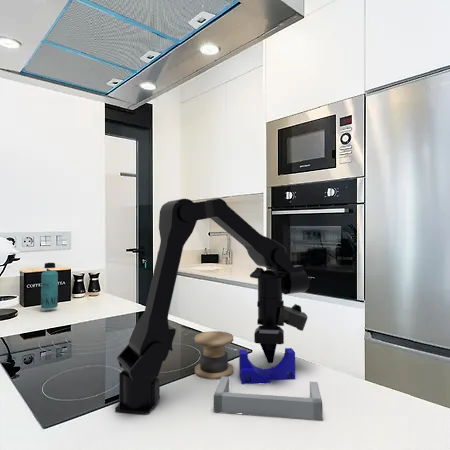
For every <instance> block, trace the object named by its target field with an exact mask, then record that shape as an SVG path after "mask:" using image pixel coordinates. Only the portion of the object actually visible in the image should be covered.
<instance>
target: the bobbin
mask: <svg viewBox="0 0 450 450" xmlns="http://www.w3.org/2000/svg"><path fill="white" fill-rule="evenodd" d="M233 341H234V335H233V334H232V333H229V332H227V331H219V330H216V331H215V330H213V331H212V330H211V331H210V330H209V331H202V332H200V333H197V334H196V335H195V336H194V343H196V344H197V345H199V346H200V345H201V346H203V347H202V350H203V351H201V352H200V357H199V360H200V363H197V364H196V365H195V366H194V373H195V376H198V377H199V378H201V379H207V380H220V379H221V377H222V376H225V377H230V376H232V375H233V374H234V365H233V364H232V363H229V356H228V355H229V353H228V352H227V350H226V347H225V346H226V345H230V344H232V342H233Z"/></svg>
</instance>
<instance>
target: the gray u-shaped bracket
mask: <svg viewBox="0 0 450 450" xmlns="http://www.w3.org/2000/svg"><path fill="white" fill-rule="evenodd" d="M322 399H323V398H322V395H321V391H320V387H319V383H318V381H309V397H301V396H300V397H299V396H288V395H287V396H286V395H285V396H284V395H273V394H272V395H271V394H257V393H254V394H253V393H241V392H230V376H228V377H225V376H222V377H221V379H219V382H218V384H217V386H216V388H215V391H214V394H213V413H218V412H223V413H222V414H232V413H242V414H241V415H245V414H251V415H250V416H258V415H260V416H259V417H270V418H271V417H274V418H287V419H296V420H297V419H298V420H312V421H323V415H324V414H323V400H322ZM224 412H226V413H224Z"/></svg>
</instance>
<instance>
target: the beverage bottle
mask: <svg viewBox="0 0 450 450" xmlns="http://www.w3.org/2000/svg"><path fill="white" fill-rule="evenodd" d="M55 268H56V263H55V262H45V263H44V269H55ZM40 274H41V282H40V288H41V289H40V296H41V297H40V307H41V309H42V310H43V309H44V310H48V309H56V308H57V307H58V305H59V300H58V299H59V292H58V291H59V277H58V276H59V273H58V272H57V271H56V270H44V271H43V272H42V273H40Z"/></svg>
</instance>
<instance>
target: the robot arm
mask: <svg viewBox="0 0 450 450" xmlns="http://www.w3.org/2000/svg"><path fill="white" fill-rule="evenodd" d="M158 218H159V220H158V233H159V237H160V243H159V247H158V252H157V257H156V261H155V265H154V270H153V274H152V278H151V282H150V286H149V291H148V295H147V299H146V303H145V308H144V311H143V313H142V315H141V316H140V317H139V319H138V321H137V322H136V323H135V326H134V327H133V331H132V334H131V336H130V337H129V340H128V344H127V345H126V346H125V347H124V348H123V350H122V351H121V352H120V353H119V354H118V356H117V358H116V360H117V363H118V365H119V367H120V368H121V369H122V371H121V372H119V374H118V375H119V379H118V381H119V382H118V383H119V388H118V389H119V390H118V393H119V394H118V396H119V398H118V399H119V401H118V404H117V405H116V406H115V408H114V411H115V412H116V413H117V412H118V413H119V412H120V413H121V412H122V413H130V414H142V415H143V414H144V415H148V414H150V413H151V411H152V410H153V409H154V407H155V406H156V405H157V403H158V402H159V401H160V399H161V395H160V392H161V390H160V387H161V386H160V381H161V380H160V378H159V376H160V375H159V374H160V372H161V368H162V366H163V363H164V362H165V361H166V360H167V357H168V356H169V354H170V352H173V341H174V338H175V335H176V332H177V329H176V328H174V327H172V326H171V325H169V312H170V308H171V304H172V299H173V295H174V291H175V286H176V281H177V277H178V272H179V267H180V264H181V260H182V259H181V258H182V254H183V251H184V246H185V244H186V243H187V241H188V240H189V238H190V237H191V235H192V234H193V233H194V229H195V227H196V225H197V222H198V221H202V220H207V219H211V221H213V222H214V223H215V224H217V226H219V227H220V228H222V229H223V230H224V231H225V232H226V233H227V234H228V235H230V236H231V237H232V238H234V239H235V240H236V241H237V242H238V243H239V244H240V245H242V246H243V247H244V248H245V249H246V251H247V254H248V256H249V258H250V259H251V260H252V261H253V262H254V264H256V265H257V266H258V267H256V268H255V269H254V270H253V271H251V274H249V277H250V278H252V279H257V303H256V305H257V325H258V326H257V328H255V330H254V333H253V334H254V335H253V336H254V337H253V338H254V341H253V342H254V343H255V344H260V346H261V349H262V351H263V353H264V356H265V359H266V360H267V363H268V364H273V363H274V359H275V354H276V348H277V345H284V343H285V341H284V339H285V335H284V334H285V333H284V330H283V328H282V327H284V326H285V325H288V326H290V327H293V328H295V329H297V330H298V331H303V332H304V329H305V326H306V324H307V321H308V315H307V313H306V312H302V306H301V305H299V304H296V303H295V304H293V306H292V307H291V306H286V305H284V304H285V303H284V302H285V301H284V300H283V295H290V294H291V295H292V294H298V293H299V294H300V293H305V292H307V291H308V289H309V288H310V283H311V282H310V281H311V280H310V278H309V275H308V274H307V272H306V271H305V270H304V265H299V264H296V265H295V264H293V262H292V261H291V260H290V258H289V256H288V254H287V249H286V247H284V245H283V244H281V243H279V242H278V241H276V240H274V239H272V238H269V237H267V236H265V235H263V234H262V233H260V232H259V231H258V230H256V229H255V228H254V226H252V225H251V224H250V223H248V222H247V221H246V220H245V219H244V218H243V217H242V216H240V215H239V214H238V212H236V211H235V210H233V208H231V207H230V206H229V205H228V204H227V202H226V201H225V200H224V199H222V198H219V197H218V198H211V199H207V200H203V201H196V202H194V201H192V200H191V199H189V198H179V199H175V200H170V201H167V202H165V203H164V204H162V205H161V208H160V210H159V217H158ZM264 268H266V269H267V270H266V269H264Z"/></svg>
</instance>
